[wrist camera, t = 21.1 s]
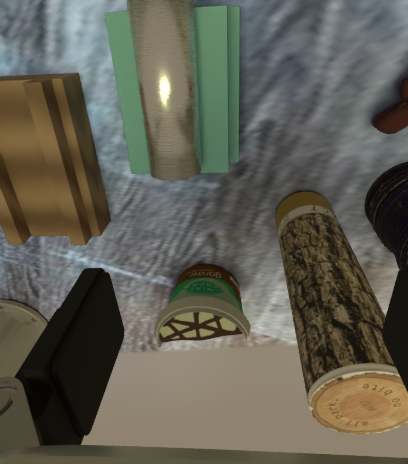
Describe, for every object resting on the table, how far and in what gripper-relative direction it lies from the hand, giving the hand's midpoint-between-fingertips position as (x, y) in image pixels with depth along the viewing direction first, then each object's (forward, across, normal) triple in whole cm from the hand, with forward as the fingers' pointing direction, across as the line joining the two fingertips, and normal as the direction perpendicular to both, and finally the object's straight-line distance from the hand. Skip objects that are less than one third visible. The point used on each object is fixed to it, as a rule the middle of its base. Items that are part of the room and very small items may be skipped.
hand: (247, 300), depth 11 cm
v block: (+30, +6, -2) cm, 30 cm away
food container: (+30, +6, +22) cm, 38 cm away
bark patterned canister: (+30, -8, +13) cm, 34 cm away
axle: (+25, +6, -3) cm, 26 cm away
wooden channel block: (+30, +23, +4) cm, 38 cm away
